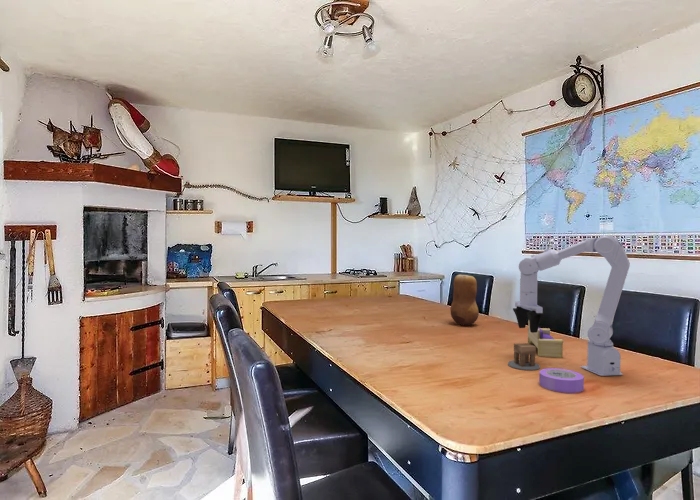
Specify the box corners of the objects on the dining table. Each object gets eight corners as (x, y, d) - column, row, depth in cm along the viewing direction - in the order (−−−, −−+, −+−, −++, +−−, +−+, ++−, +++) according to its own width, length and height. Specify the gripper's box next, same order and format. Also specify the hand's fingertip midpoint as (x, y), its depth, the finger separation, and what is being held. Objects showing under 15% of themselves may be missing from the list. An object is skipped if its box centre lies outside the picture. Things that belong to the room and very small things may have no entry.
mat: (546, 369, 144) (546, 368, 144) (517, 371, 143) (517, 369, 143) (529, 361, 154) (529, 359, 154) (502, 362, 153) (502, 360, 153)
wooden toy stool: (535, 366, 146) (535, 346, 146) (521, 366, 146) (521, 347, 145) (527, 361, 151) (527, 343, 151) (513, 362, 151) (513, 343, 150)
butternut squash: (481, 324, 221) (482, 274, 220) (473, 328, 210) (474, 276, 209) (454, 321, 228) (455, 273, 228) (445, 325, 217) (446, 274, 216)
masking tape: (532, 386, 129) (532, 373, 129) (548, 377, 137) (548, 365, 137) (575, 396, 121) (575, 383, 120) (589, 387, 129) (589, 374, 129)
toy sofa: (563, 358, 159) (564, 330, 159) (538, 357, 161) (538, 329, 160) (549, 345, 180) (550, 320, 179) (526, 343, 181) (527, 319, 181)
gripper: (507, 289, 163) (507, 326, 164) (529, 294, 149) (528, 334, 149) (525, 289, 164) (524, 325, 165) (548, 294, 150) (547, 334, 150)
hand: (527, 330), depth 157 cm, fingers open, 7 cm apart
